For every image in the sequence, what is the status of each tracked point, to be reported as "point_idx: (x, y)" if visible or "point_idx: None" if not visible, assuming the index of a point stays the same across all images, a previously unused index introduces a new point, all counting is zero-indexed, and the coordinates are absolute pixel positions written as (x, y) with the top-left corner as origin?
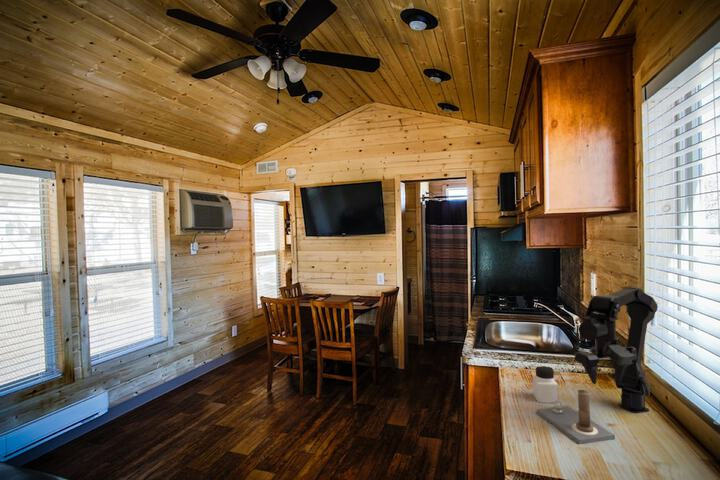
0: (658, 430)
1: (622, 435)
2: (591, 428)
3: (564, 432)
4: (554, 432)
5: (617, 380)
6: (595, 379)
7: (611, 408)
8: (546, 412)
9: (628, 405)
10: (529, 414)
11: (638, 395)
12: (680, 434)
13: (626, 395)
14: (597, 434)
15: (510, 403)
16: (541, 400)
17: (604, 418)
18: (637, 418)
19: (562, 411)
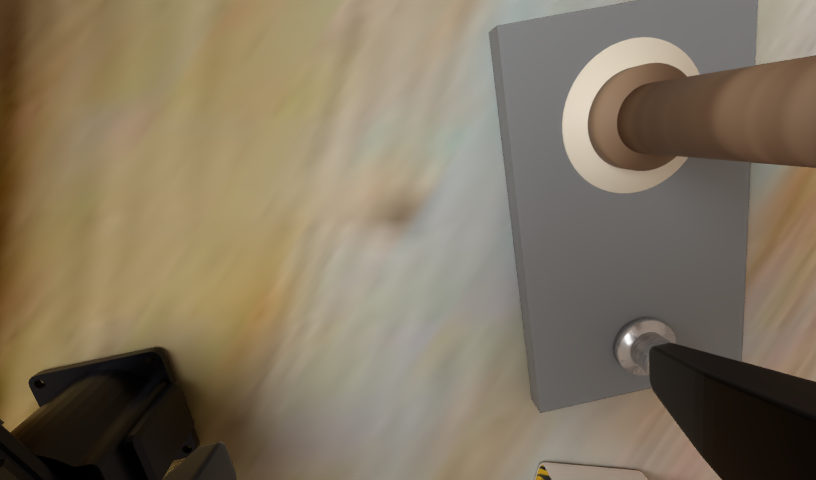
0: (132, 121)
1: (412, 73)
2: (634, 71)
3: None
4: None
5: (234, 472)
6: (742, 374)
7: (267, 407)
8: (711, 332)
9: (160, 397)
10: (769, 341)
11: (29, 443)
12: (5, 56)
13: (126, 464)
14: (603, 40)
15: None
16: (633, 477)
17: (388, 288)
18: (178, 282)
19: (636, 326)
